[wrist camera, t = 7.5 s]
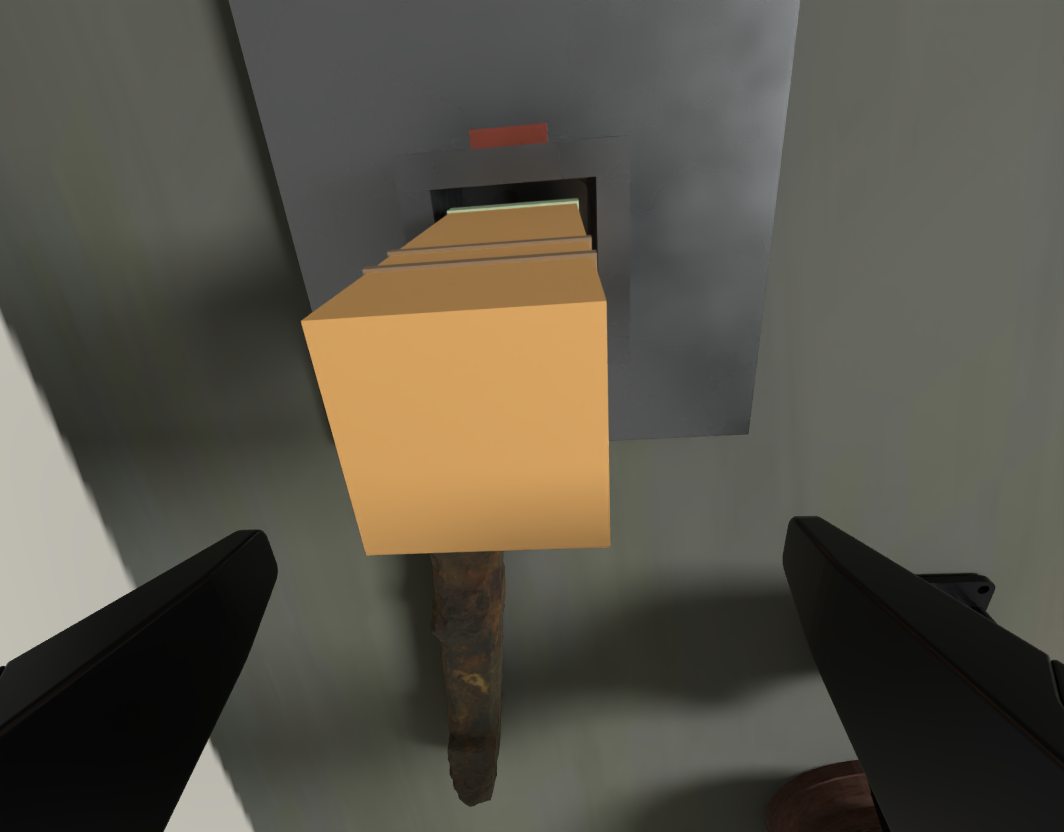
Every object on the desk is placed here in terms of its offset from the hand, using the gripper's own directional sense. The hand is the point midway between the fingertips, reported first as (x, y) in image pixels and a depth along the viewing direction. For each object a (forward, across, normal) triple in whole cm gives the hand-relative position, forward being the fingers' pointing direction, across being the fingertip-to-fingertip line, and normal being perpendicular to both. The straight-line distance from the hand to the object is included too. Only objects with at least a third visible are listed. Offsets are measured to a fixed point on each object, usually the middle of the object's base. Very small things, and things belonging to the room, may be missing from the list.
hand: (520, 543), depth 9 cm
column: (+7, 0, -3) cm, 8 cm away
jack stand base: (+13, 0, -3) cm, 13 cm away
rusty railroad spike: (+13, +4, +17) cm, 22 cm away
